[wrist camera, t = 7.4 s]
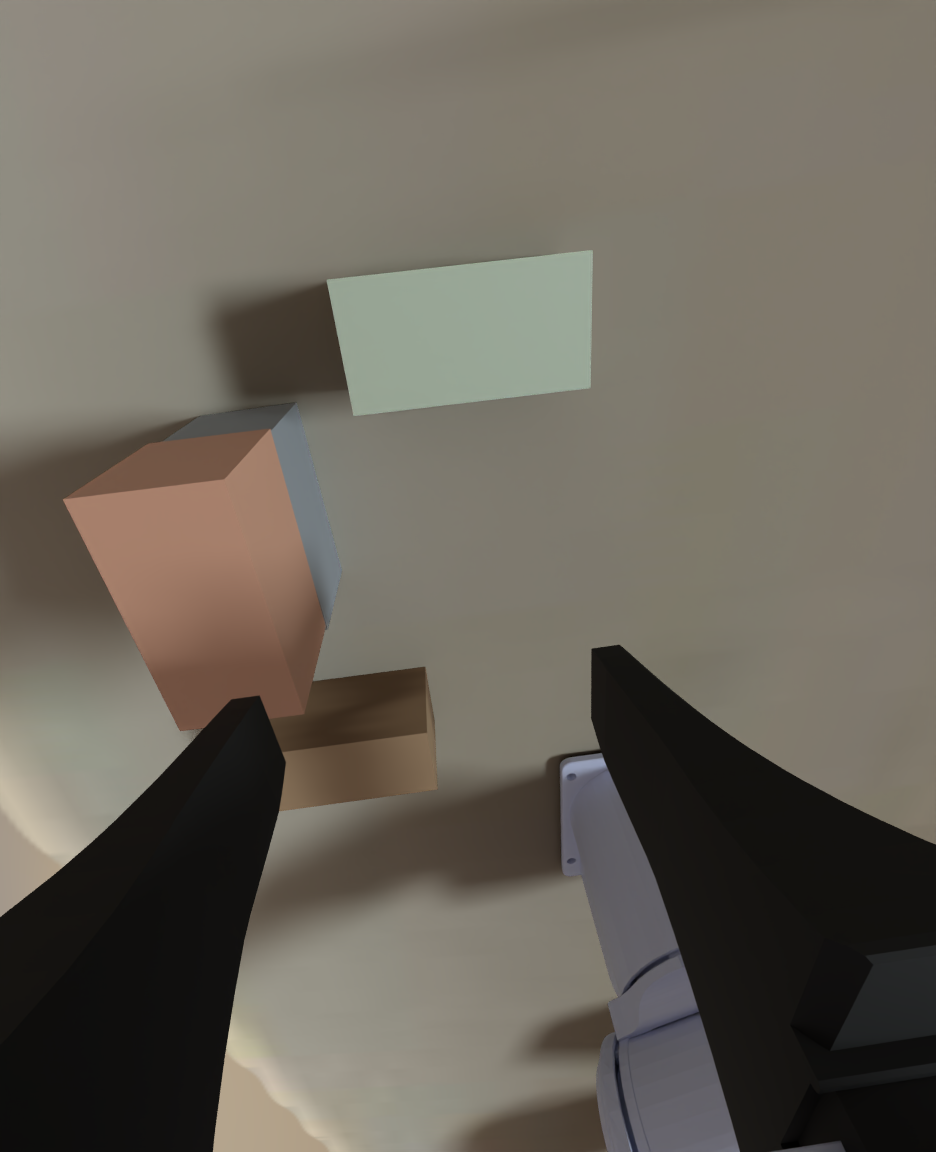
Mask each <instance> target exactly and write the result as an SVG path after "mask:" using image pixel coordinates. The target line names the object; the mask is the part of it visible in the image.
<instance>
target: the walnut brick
mask: <svg viewBox="0 0 936 1152" xmlns="http://www.w3.org/2000/svg"><path fill="white" fill-rule="evenodd" d="M269 720H270V723H271V725H272V728H273V730H274V733H275V735H276V738H277V740H278V743H279V745H280V748H281V751H282V753H283V756H284V758H285V761H286V767H285V775H284V783H283V790H282V796H281V803H280V809H279V811H284V810H292V809H299V808H306V807H314V806H321V805H328V804H335V803H343V802H350V801H357V800H365V799H372V798H379V797H386V796H394V795H401V794H408V793H416V792H423V791H430V790H438V788H437V766H436V743H435V721H434V715H433V709H432V703H431V697H430V691H429V686H428V680H427V674H426V668H425V667H419V668H412V669H404V670H397V671H389V672H381V673H374V674H366V675H359V676H351V677H343V678H336V679H328V680H321V681H313V682H312V685H311V689H310V693H309V697H308V701H307V705H306V709H305V713H304V714H302V715H295V716H287V717H280V718H273V719H269Z"/></svg>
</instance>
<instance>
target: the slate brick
mask: <svg viewBox="0 0 936 1152" xmlns="http://www.w3.org/2000/svg"><path fill="white" fill-rule="evenodd" d="M262 429H271V433H272V437H273V440H274V444H275V447H276V451H277V454H278V458H279V461H280V465H281V469H282V472H283V476H284V479H285V483H286V486H287V490H288V493H289V497H290V500H291V504H292V508H293V511H294V515H295V518H296V522H297V525H298V529H299V532H300V536H301V540H302V543H303V547H304V550H305V554H306V557H307V561H308V564H309V568H310V571H311V575H312V579H313V582H314V586H315V589H316V593H317V596H318V600H319V604H320V607H321V611H322V614H323V618H324V621H325V625H326V628H325V630H327V629H328V627H329V622H330V618H331V614H332V610H333V606H334V602H335V597H336V593H337V589H338V585H339V581H340V577H341V572H342V569H341V565H340V561H339V558H338V554H337V550H336V547H335V543H334V539H333V536H332V532H331V528H330V524H329V521H328V517H327V513H326V510H325V506H324V502H323V499H322V495H321V491H320V487H319V484H318V480H317V476H316V473H315V469H314V465H313V462H312V458H311V454H310V451H309V447H308V443H307V439H306V436H305V432H304V428H303V425H302V421H301V417H300V414H299V410H298V406H297V402H296V403H289V404H281V405H274V406H267V407H260V408H253V409H246V410H239V411H232V412H225V413H218V414H210V415H203V416H199V417H197V418H196V419H194V420H193V421H191V422H190V423H188V424H187V425H186V426H184V427H183V428H181V429H180V430H178V431H177V432H175V433H174V434H172V435H171V436H169V437H168V438H166V439H165V440H163V441H162V442H164V441H172V440H180V439H188V438H197V437H205V436H213V435H221V434H229V433H238V432H246V431H254V430H262Z"/></svg>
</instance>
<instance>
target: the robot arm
mask: <svg viewBox="0 0 936 1152" xmlns="http://www.w3.org/2000/svg"><path fill="white" fill-rule="evenodd" d="M591 719H592V723H593V726H594V729H595V733H596V736H597V739H598V743H599V746H600V749H601V752H602V753H598V754H591V755H584V756H576V757H569V758H566V759H564V760H563V761H562V762H561V763H560V808H561V867H562V871H563V874H564V875H566V876H576V875H581V876H582V879H583V883H584V887H585V890H586V894H587V897H588V901H589V905H590V908H591V912H592V916H593V919H594V923H595V926H596V930H597V934H598V937H599V941H600V945H601V948H602V952H603V955H604V959H605V963H606V966H607V970H608V974H609V977H610V980H611V982H612V985H613V988H614V990H615V992H616V994H617V996H618V998H616V999H613V1000H611V1001H609V1002H608V1007H609V1011H610V1014H611V1018H612V1022H613V1026H614V1030H615V1032H613V1033H610V1034H608V1035H607V1036H606V1037H605V1038H604V1040H603V1042H602V1045H601V1050H600V1059H599V1062H598V1067H597V1074H596V1089H597V1101H598V1108H599V1115H600V1120H601V1126H602V1130H603V1135H604V1139H605V1144H606V1148H607V1151H608V1152H936V845H935V844H933V843H930V842H928V841H925V840H923V839H921V838H919V837H916V836H914V835H912V834H910V833H907V832H905V831H903V830H901V829H899V828H897V827H894V826H892V825H890V824H888V823H886V822H884V821H881V820H879V819H877V818H875V817H873V816H871V815H869V814H866V813H864V812H862V811H860V810H858V809H856V808H854V807H852V806H850V805H848V804H846V803H844V802H842V801H840V800H838V799H837V798H835V797H833V796H831V795H829V794H827V793H825V792H823V791H822V790H820V789H818V788H816V787H814V786H812V785H810V784H809V783H807V782H805V781H803V780H801V779H800V778H798V777H796V776H794V775H793V774H791V773H789V772H787V771H786V770H784V769H782V768H781V767H779V766H777V765H776V764H774V763H772V762H771V761H769V760H768V759H766V758H764V757H763V756H761V755H760V754H758V753H756V752H755V751H753V750H752V749H750V748H748V747H747V746H745V745H744V744H742V743H741V742H739V741H738V740H736V739H735V738H734V737H732V736H731V735H729V734H728V733H727V732H725V731H724V730H722V729H721V728H720V727H718V726H717V725H715V724H714V723H713V722H711V721H710V720H709V719H707V718H706V717H705V716H703V715H702V714H701V713H700V712H698V711H697V710H696V709H694V708H693V707H692V706H691V705H689V704H688V703H687V702H686V701H684V700H683V699H682V698H681V697H680V696H678V695H677V694H676V693H675V692H673V691H672V690H671V689H670V688H669V687H667V686H666V685H665V684H664V683H663V682H661V681H660V680H659V679H658V678H657V677H656V676H655V675H653V674H652V673H651V672H650V671H649V670H648V669H647V668H645V667H644V666H643V665H642V664H641V663H640V662H639V661H638V660H636V659H635V658H634V657H633V656H632V655H631V654H630V653H629V652H627V651H626V650H625V649H624V648H623V647H621V646H620V645H614V646H607V647H600V648H593V649H592V661H591ZM285 767H286V761H285V758H284V756H283V753H282V751H281V748H280V745H279V743H278V740H277V738H276V735H275V733H274V730H273V728H272V725H271V723H270V720H269V718H268V715H267V713H266V710H265V708H264V705H263V703H262V700H261V697H260V695H258V696H251V697H244V698H237V699H231V700H230V701H229V702H228V703H227V704H226V705H225V706H224V707H223V708H222V709H221V710H220V712H219V713H218V714H217V715H216V716H215V717H214V718H213V719H212V720H211V721H210V722H209V723H208V725H207V726H206V727H205V728H204V729H203V730H202V731H201V732H200V733H199V735H198V736H197V737H196V738H195V739H194V740H193V741H192V742H191V743H190V744H189V745H188V747H187V748H186V749H185V750H184V751H183V752H182V753H181V754H180V755H179V756H178V757H177V758H176V759H175V761H174V762H173V763H172V764H171V765H170V766H169V767H168V768H167V769H166V770H165V771H164V772H163V773H162V774H161V776H160V777H159V778H158V779H157V780H156V781H155V782H154V783H153V784H152V785H151V786H150V787H149V788H148V789H147V790H146V791H145V792H144V793H143V794H142V795H141V796H140V797H139V798H138V799H137V800H136V801H135V802H134V803H133V804H132V805H131V806H130V807H129V808H128V809H127V810H125V811H124V812H123V813H122V814H121V815H120V816H119V817H118V818H117V819H116V820H115V821H114V822H113V823H112V824H111V825H110V826H109V827H108V828H107V829H106V830H105V831H104V832H103V833H101V834H100V835H99V836H98V837H97V838H96V839H95V840H94V841H93V842H92V843H90V844H89V845H88V846H87V847H86V848H85V849H84V850H82V851H81V852H80V853H79V854H78V855H77V856H75V857H74V858H73V859H72V860H71V861H70V862H69V863H67V864H66V865H65V866H64V867H63V868H62V869H60V870H59V871H58V872H57V873H56V874H54V875H53V876H52V877H51V878H50V879H48V880H47V881H46V882H44V883H43V884H42V885H41V886H39V887H38V888H37V889H35V890H34V891H33V892H32V893H30V894H29V895H28V896H27V897H25V898H24V899H23V900H22V901H20V902H19V903H18V904H17V905H15V906H14V907H13V908H11V909H10V910H9V911H7V912H6V913H5V914H4V915H2V916H1V917H0V1152H213V1144H214V1134H215V1126H216V1119H217V1111H218V1104H219V1096H220V1088H221V1081H222V1073H223V1066H224V1058H225V1052H226V1045H227V1039H228V1032H229V1026H230V1020H231V1013H232V1007H233V1001H234V994H235V989H236V983H237V978H238V972H239V966H240V961H241V955H242V950H243V944H244V939H245V935H246V931H247V927H248V922H249V918H250V914H251V911H252V907H253V904H254V900H255V896H256V893H257V889H258V886H259V882H260V878H261V875H262V871H263V868H264V864H265V861H266V857H267V853H268V850H269V846H270V842H271V839H272V835H273V831H274V828H275V824H276V820H277V816H278V813H279V809H280V803H281V796H282V790H283V783H284V775H285Z"/></svg>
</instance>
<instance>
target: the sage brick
mask: <svg viewBox="0 0 936 1152" xmlns="http://www.w3.org/2000/svg"><path fill="white" fill-rule="evenodd" d="M592 260H593V250H589V251H580V252H571V253H562V254H553V255H544V256H535V257H526V258H517V259H508V260H499V261H490V262H481V263H472V264H463V265H454V266H445V267H436V268H427V269H418V270H410V271H401V272H392V273H383V274H374V275H365V276H356V277H347V278H338V279H329V280H327V285H328V290H329V295H330V300H331V305H332V310H333V315H334V320H335V325H336V330H337V335H338V340H339V345H340V350H341V355H342V360H343V365H344V370H345V375H346V380H347V385H348V390H349V395H350V400H351V405H352V410H353V415H354V416H359V415H367V414H376V413H384V412H392V411H401V410H409V409H418V408H426V407H435V406H443V405H452V404H460V403H468V402H477V401H485V400H494V399H502V398H511V397H519V396H527V395H536V394H544V393H553V392H561V391H570V390H578V389H587V388H590V384H591V322H592Z"/></svg>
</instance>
